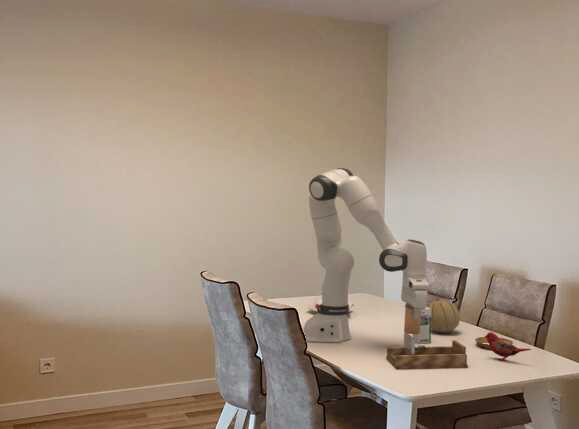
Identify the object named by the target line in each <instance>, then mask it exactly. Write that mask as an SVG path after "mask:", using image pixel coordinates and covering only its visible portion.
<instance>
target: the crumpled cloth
mask: <svg viewBox="0 0 579 429" xmlns="http://www.w3.org/2000/svg"><path fill="white" fill-rule="evenodd" d="M316 304H319V305H321V304H322V294H320V295H317V296H316V298H315V299H314V300H313V301H312V302H311V303H310V304H308V305H307V309H308V310H310V311H314V312H316V313H318V312H317V309H316V308H315V305H316ZM348 305H349V310H351V309H352V307H354V306H355V304H354V303H353V302H352V301H350V300H348Z"/></svg>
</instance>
